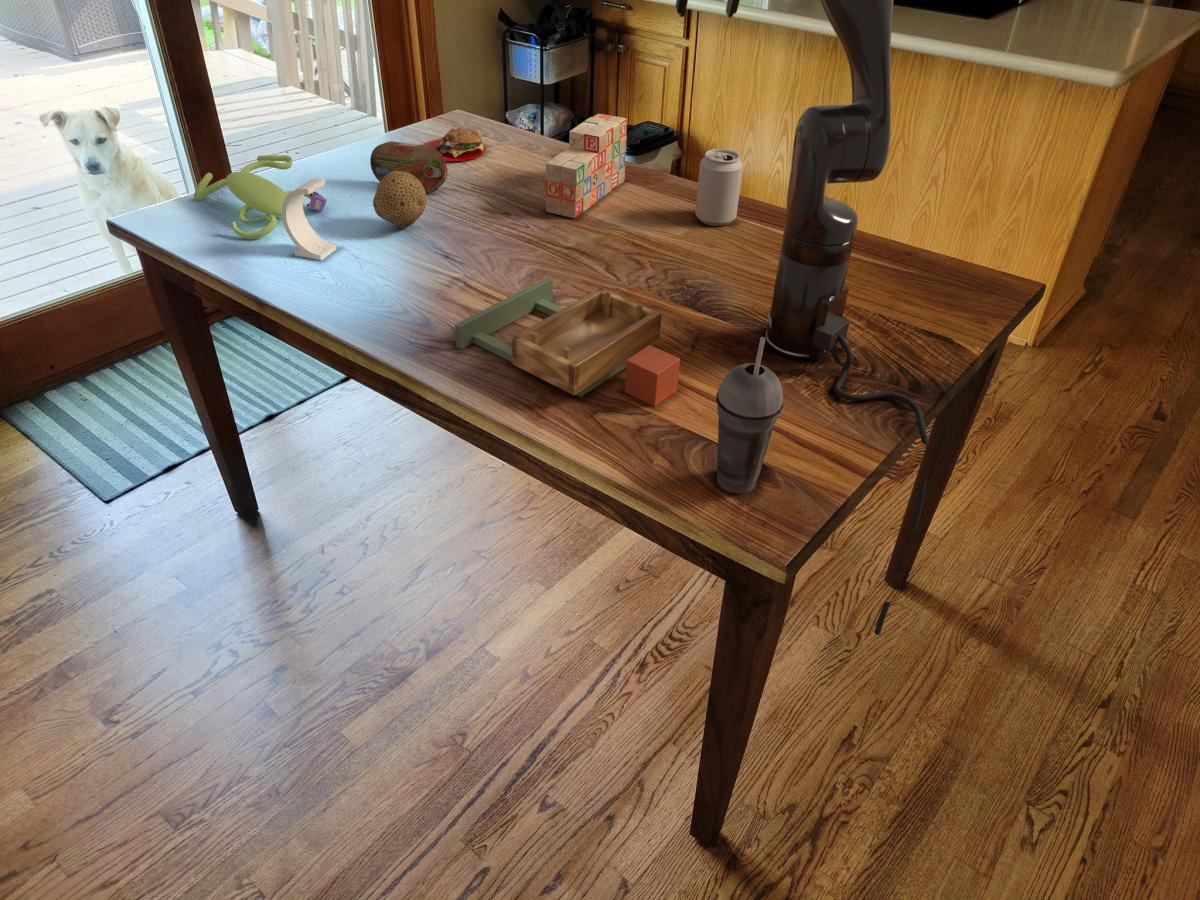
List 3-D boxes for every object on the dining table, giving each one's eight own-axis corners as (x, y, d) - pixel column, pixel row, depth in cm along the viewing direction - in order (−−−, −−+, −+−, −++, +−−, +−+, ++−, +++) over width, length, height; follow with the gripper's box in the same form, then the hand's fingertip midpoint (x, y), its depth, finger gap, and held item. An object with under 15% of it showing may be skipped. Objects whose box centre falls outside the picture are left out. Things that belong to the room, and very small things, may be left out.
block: (677, 390, 116) (680, 358, 112) (654, 406, 113) (657, 374, 109) (647, 376, 118) (649, 344, 115) (624, 392, 115) (626, 360, 112)
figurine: (284, 173, 171) (278, 144, 167) (346, 219, 155) (341, 188, 151) (189, 194, 161) (180, 164, 158) (244, 245, 145) (236, 213, 142)
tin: (372, 185, 167) (366, 141, 162) (380, 179, 169) (374, 136, 164) (444, 196, 164) (440, 151, 159) (451, 190, 166) (447, 146, 161)
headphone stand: (321, 260, 142) (307, 189, 135) (289, 254, 144) (274, 183, 136) (336, 249, 146) (324, 179, 138) (306, 243, 147) (291, 173, 140)
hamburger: (462, 135, 190) (460, 106, 187) (499, 153, 182) (498, 124, 178) (406, 148, 183) (403, 119, 179) (442, 168, 175) (439, 138, 171)
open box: (659, 339, 123) (662, 307, 119) (574, 395, 111) (574, 361, 108) (599, 313, 128) (600, 281, 125) (512, 364, 117) (510, 330, 114)
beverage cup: (761, 461, 104) (788, 314, 92) (773, 501, 99) (803, 351, 86) (701, 460, 104) (720, 313, 92) (709, 501, 98) (730, 351, 86)
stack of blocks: (575, 219, 157) (576, 152, 150) (545, 212, 159) (544, 145, 152) (625, 180, 172) (627, 117, 165) (596, 174, 174) (598, 111, 167)
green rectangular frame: (657, 346, 124) (659, 324, 122) (569, 405, 112) (569, 382, 110) (548, 297, 134) (548, 276, 132) (456, 347, 123) (454, 324, 120)
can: (734, 229, 156) (742, 163, 148) (692, 225, 157) (698, 159, 149) (737, 213, 161) (745, 148, 154) (697, 208, 162) (703, 144, 155)
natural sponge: (435, 235, 150) (429, 179, 144) (383, 243, 148) (375, 186, 142) (423, 215, 157) (417, 160, 151) (373, 221, 154) (365, 166, 148)
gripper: (688, -71, 132) (669, 27, 146) (776, -70, 135) (750, 27, 148) (677, -98, 136) (660, 1, 150) (764, -96, 138) (739, 1, 152)
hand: (705, 14), depth 149 cm, fingers open, 8 cm apart
